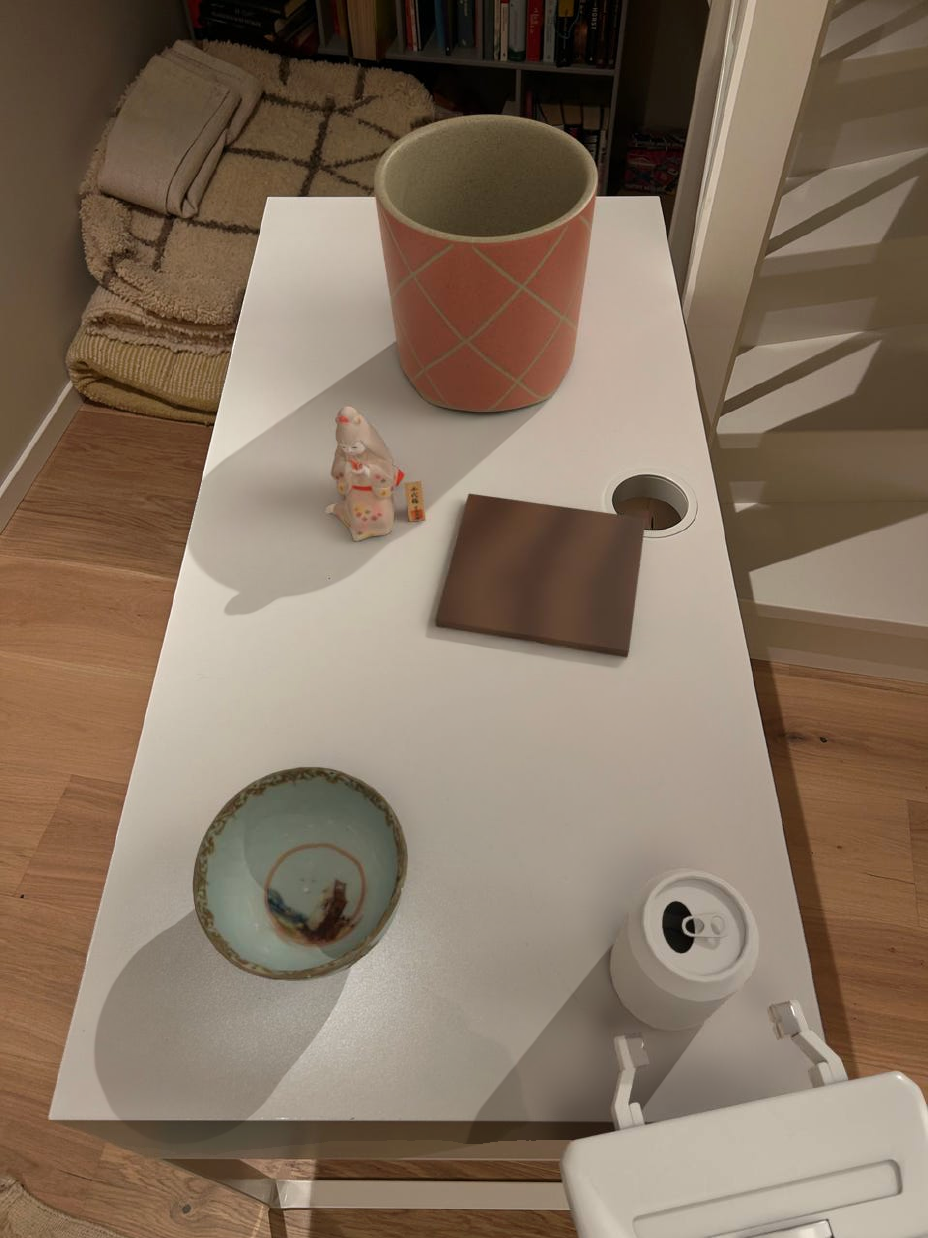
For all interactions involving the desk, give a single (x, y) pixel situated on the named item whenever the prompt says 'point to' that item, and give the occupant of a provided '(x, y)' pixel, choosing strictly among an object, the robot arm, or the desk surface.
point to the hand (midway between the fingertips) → (704, 1019)
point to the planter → (486, 257)
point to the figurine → (368, 479)
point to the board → (544, 574)
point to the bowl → (300, 874)
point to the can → (683, 949)
